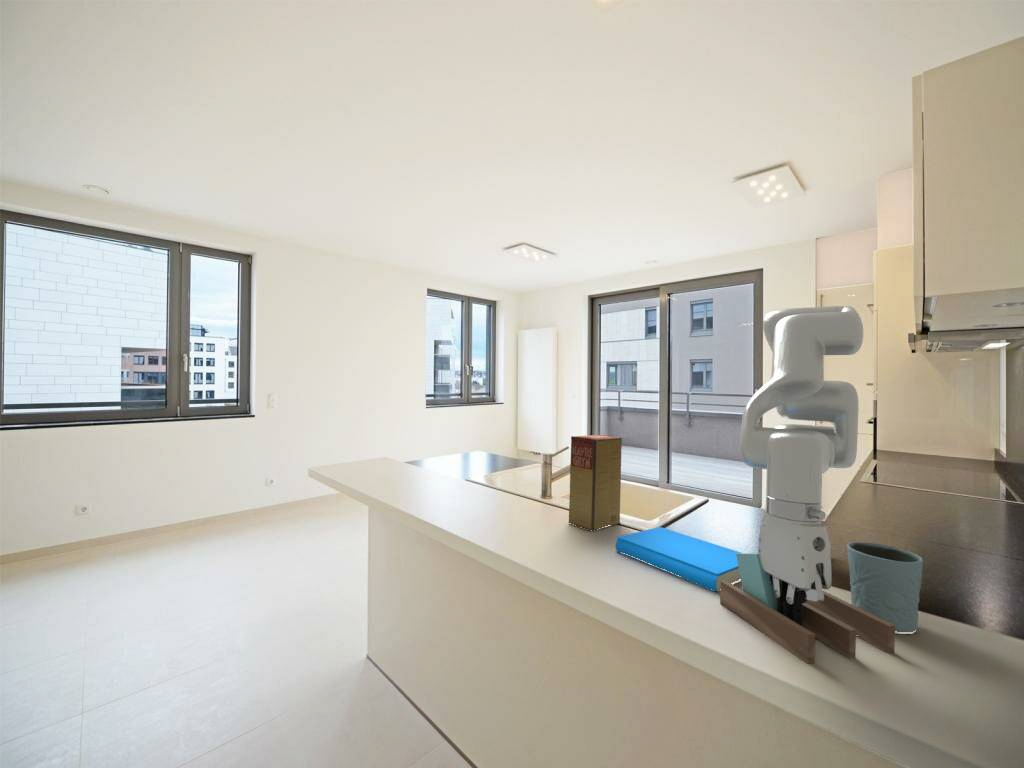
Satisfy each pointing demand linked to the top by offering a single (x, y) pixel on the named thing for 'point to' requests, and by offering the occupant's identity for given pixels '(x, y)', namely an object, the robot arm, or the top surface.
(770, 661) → the top surface
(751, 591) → the block
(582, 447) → the food packaging
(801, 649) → the slot rack
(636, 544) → the book
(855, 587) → the blue plant pot
